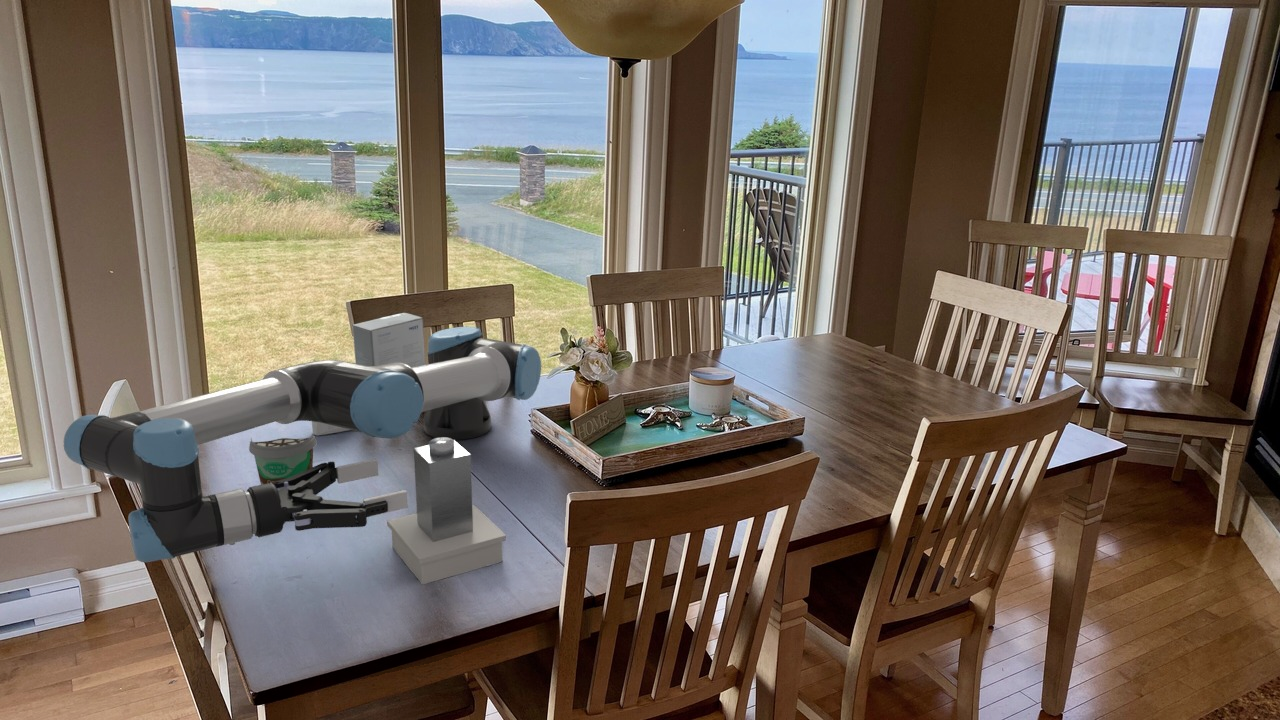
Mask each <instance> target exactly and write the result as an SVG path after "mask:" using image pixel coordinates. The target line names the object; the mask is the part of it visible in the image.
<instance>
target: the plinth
mask: <svg viewBox="0 0 1280 720" xmlns="http://www.w3.org/2000/svg"><path fill="white" fill-rule="evenodd" d="M472 514H473V532H469V533H466V534H462V535H458V536H454V537H450V538H447V539H443V540H439V541H435V542H433V541H432V540H431V539H430V538H429V537H428V536H427V535H426V533H425V532H424V531H423V530H422V529H421V528H420V527H419V525H418V521H417V512H416V513H410V514H407V515H403V516H399V517H396V518H391V519H387V520H386V522H387V524H386V525H387V527H388V528H389V529H390V531H391V543H392V549H394V551H395V552H396V554H397V555H398V556H399V557H400V558H401V560H402V561H403V562H404V564H406V566H407V567H408V569H410V571H411V572H412V574H413V575H414V576H415V577H416V579H417V580H418V581H419V582H420V584H421V585H427V584H429V583H433V582H436V581H440V580H444V579H446V578H450V577H452V576H453V577H454V576H457V575H460V574H463V573H467V572H471V571H475V570H478V569H480V568H485V567H487V566H491V565H495V564H498V563H501V562H503V542H506V541H507V535H506V534H505V533H504V532H503V531H502V530H501V529H500V528H499V527H498V526H497V525H496V524H495V523H494V522H493V521H492V520H491V519H489V517H487V516H486V514H484V512H482V511H481V510H480V509H479V508H478V507H477V506H476V504H474V503H473V502H472Z"/></svg>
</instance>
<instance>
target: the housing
mask: <svg viewBox="0 0 1280 720" xmlns="http://www.w3.org/2000/svg"><path fill="white" fill-rule="evenodd" d="M471 455H472V454H471V453H470V452H468V451H467V450H466V449H465V448H464V447H463V446H461V445H460V444H459V443H458V442H457V441H456V440H453V439H451V438H446V437H441V438H435V437H434V438H433V439H431V440H429V442H428V444H426V445H422V446H417V447H413V457H414V458H413V461H414V477H415V478H414V480H415V497H416V498H415V499H416V500H415V502H416V513H417V521H418V525H419V527H420V528H421V529H422V530H423V531H424V532H425V533H426V535H427V536H428V537H429V538H430V539H431V540H432V541H433V542H435V541H439V540H443V539H447V538H450V537H454V536H458V535H462V534H466V533H469V532H473V514H472V503H473V492H472V491H473V489H472V487H473V486H472V457H471Z"/></svg>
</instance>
